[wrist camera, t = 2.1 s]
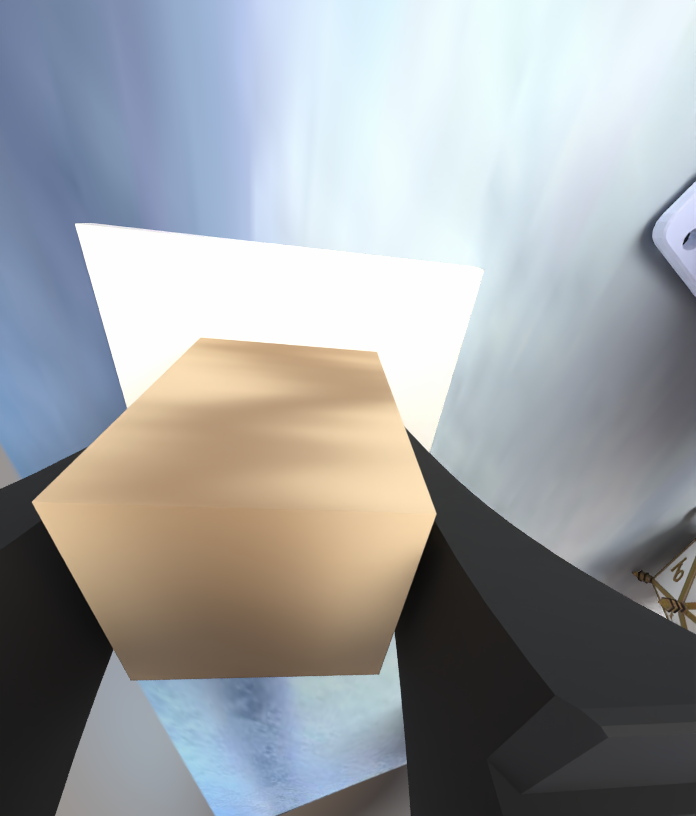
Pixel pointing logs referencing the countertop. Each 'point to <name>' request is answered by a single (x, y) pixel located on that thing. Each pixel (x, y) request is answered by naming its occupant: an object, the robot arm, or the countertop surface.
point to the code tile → (279, 307)
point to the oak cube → (248, 516)
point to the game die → (677, 587)
